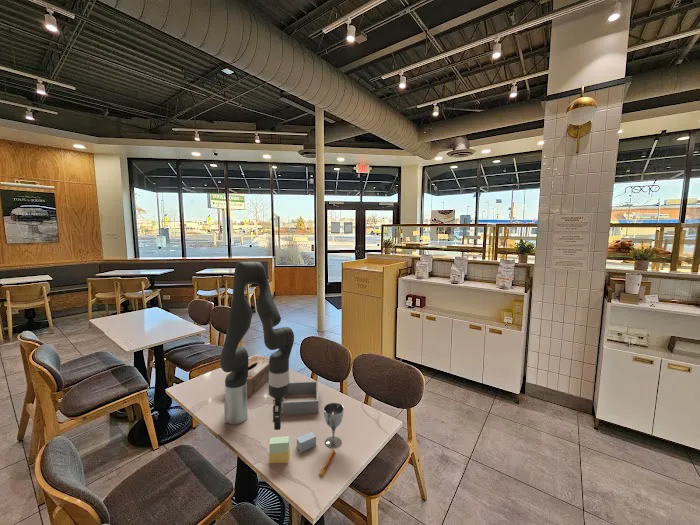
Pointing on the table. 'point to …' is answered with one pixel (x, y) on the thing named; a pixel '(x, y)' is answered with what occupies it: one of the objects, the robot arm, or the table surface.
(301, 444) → the slate brick
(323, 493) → the table surface
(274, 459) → the ochre brick
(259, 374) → the tissue box cover
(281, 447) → the sage brick
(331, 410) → the wine glass
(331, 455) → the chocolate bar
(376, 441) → the table surface
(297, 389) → the frame
